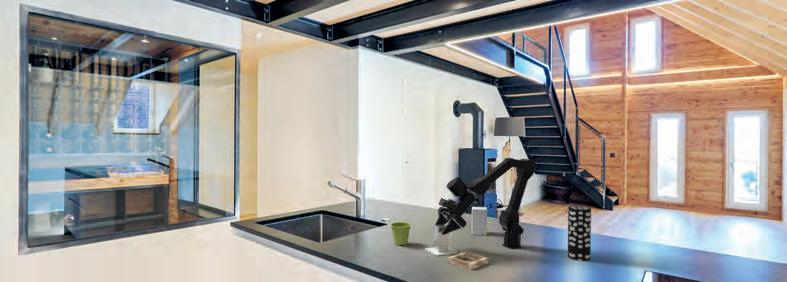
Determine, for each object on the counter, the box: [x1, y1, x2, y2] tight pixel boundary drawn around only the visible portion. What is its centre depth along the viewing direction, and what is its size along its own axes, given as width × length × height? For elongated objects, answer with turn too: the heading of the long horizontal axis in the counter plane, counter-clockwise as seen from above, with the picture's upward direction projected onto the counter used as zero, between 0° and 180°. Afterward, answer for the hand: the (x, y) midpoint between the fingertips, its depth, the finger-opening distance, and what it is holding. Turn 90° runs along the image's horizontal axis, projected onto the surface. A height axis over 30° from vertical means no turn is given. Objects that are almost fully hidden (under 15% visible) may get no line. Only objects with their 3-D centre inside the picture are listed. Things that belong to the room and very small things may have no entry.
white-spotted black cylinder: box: [567, 205, 592, 262], centre depth 159 cm, size 8×8×20 cm
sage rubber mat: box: [424, 246, 459, 257], centre depth 167 cm, size 10×10×1 cm
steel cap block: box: [433, 224, 450, 252], centre depth 166 cm, size 4×5×10 cm
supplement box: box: [471, 206, 488, 236], centre depth 198 cm, size 7×7×13 cm
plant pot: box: [389, 221, 412, 246], centre depth 178 cm, size 9×9×9 cm
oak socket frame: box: [447, 251, 489, 271], centre depth 152 cm, size 11×11×2 cm
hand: (438, 231), depth 166 cm, fingers open, 9 cm apart
